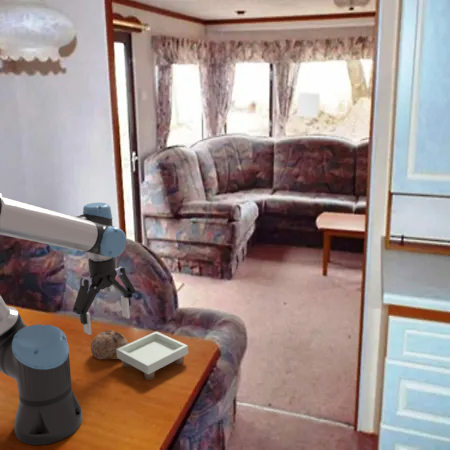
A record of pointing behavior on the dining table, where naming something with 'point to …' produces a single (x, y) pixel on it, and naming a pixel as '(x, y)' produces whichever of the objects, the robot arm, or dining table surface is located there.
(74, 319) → the dining table surface
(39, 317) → the dining table surface
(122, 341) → the seashell
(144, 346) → the shallow white square tray
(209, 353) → the dining table surface
